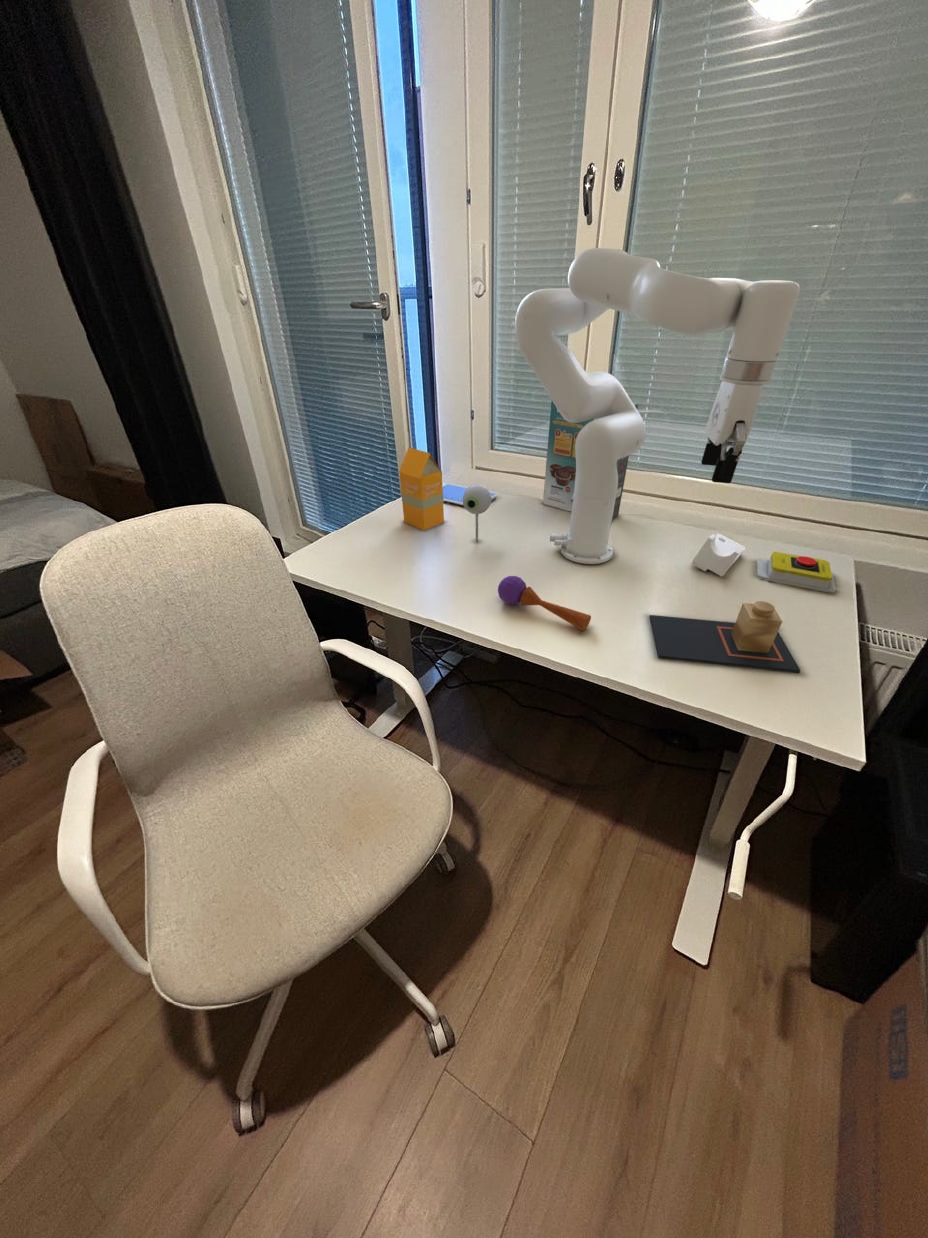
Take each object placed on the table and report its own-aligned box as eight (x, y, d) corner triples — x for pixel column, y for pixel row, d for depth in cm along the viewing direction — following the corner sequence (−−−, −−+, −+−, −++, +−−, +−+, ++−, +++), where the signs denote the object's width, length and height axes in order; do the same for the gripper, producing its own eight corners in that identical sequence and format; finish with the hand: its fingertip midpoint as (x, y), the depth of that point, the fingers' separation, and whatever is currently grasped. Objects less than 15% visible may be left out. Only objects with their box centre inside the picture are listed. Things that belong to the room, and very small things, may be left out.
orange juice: (423, 513, 141) (419, 444, 130) (444, 522, 136) (441, 450, 124) (403, 521, 136) (396, 450, 125) (424, 530, 131) (419, 456, 120)
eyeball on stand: (459, 545, 124) (457, 488, 115) (469, 533, 129) (468, 479, 121) (484, 549, 122) (485, 491, 113) (494, 537, 127) (495, 482, 118)
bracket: (719, 579, 109) (738, 553, 104) (691, 563, 112) (708, 537, 107) (737, 559, 117) (756, 534, 112) (710, 544, 120) (727, 519, 115)
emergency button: (844, 575, 100) (763, 560, 105) (835, 593, 102) (756, 578, 108) (839, 557, 106) (763, 544, 112) (831, 574, 109) (757, 560, 115)
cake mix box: (618, 515, 138) (638, 403, 121) (608, 522, 134) (627, 407, 117) (553, 498, 150) (563, 393, 133) (542, 503, 146) (551, 397, 129)
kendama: (581, 622, 88) (492, 582, 97) (577, 643, 92) (492, 603, 101) (596, 603, 91) (508, 566, 100) (592, 624, 95) (508, 587, 105)
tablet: (425, 498, 151) (425, 494, 150) (447, 486, 160) (447, 482, 159) (477, 510, 142) (477, 506, 142) (498, 497, 151) (498, 493, 150)
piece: (738, 650, 86) (753, 612, 81) (730, 634, 90) (744, 597, 85) (768, 653, 85) (785, 615, 80) (759, 636, 89) (775, 599, 84)
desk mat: (658, 658, 85) (659, 655, 85) (649, 617, 96) (650, 614, 96) (799, 673, 82) (800, 669, 81) (774, 628, 92) (775, 625, 92)
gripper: (712, 362, 87) (686, 457, 97) (735, 379, 73) (702, 488, 83) (756, 364, 86) (725, 460, 96) (789, 381, 72) (749, 491, 82)
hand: (714, 472), depth 90 cm, fingers open, 9 cm apart
